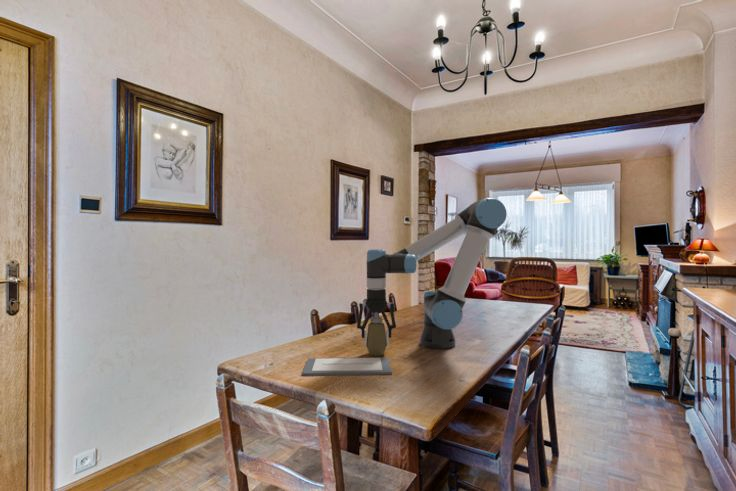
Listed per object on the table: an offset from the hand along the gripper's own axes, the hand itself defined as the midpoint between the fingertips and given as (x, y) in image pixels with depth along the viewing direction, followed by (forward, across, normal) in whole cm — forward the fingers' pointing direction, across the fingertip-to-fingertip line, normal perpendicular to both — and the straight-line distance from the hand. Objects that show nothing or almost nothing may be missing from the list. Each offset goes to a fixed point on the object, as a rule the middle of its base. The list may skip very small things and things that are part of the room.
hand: (376, 345), depth 152 cm
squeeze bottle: (+3, 0, 0) cm, 3 cm away
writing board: (+3, +11, +15) cm, 19 cm away
